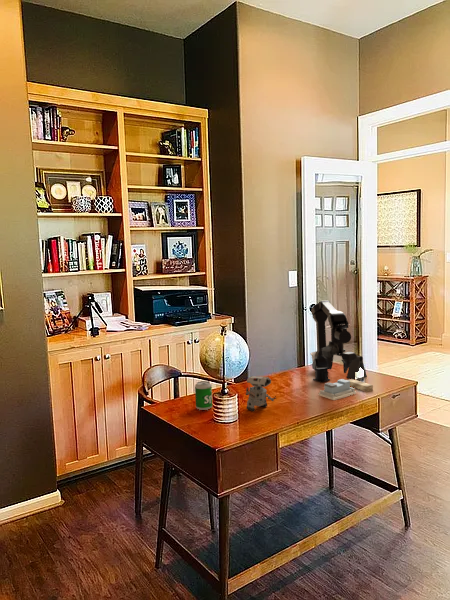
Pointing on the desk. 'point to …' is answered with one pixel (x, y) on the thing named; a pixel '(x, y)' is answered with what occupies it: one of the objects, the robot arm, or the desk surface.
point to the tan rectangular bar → (360, 385)
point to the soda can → (203, 395)
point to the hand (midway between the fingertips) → (337, 371)
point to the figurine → (257, 392)
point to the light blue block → (337, 386)
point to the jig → (337, 394)
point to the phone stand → (355, 367)
